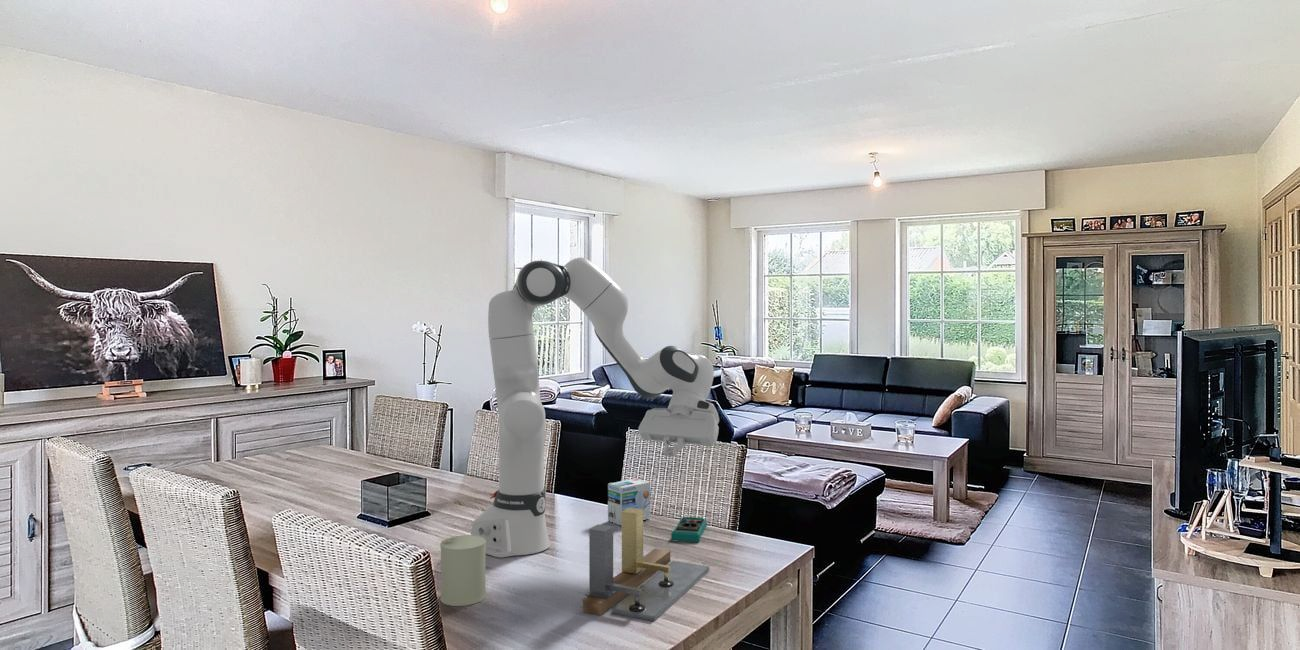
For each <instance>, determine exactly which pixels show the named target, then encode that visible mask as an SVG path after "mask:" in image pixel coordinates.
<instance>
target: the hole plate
mask: <svg viewBox="0 0 1300 650" xmlns="http://www.w3.org/2000/svg"><path fill="white" fill-rule="evenodd" d="M667 565H668V566H671V571H670V572H669V582H664V572H663V571H657V572H656V573H655V574H654V575H652V576H651V577H650V578H648V579H647V580H646V581H644V582H643V583H642V584H641V585H639V586H638V588H642V594H641V595H640V606H635V595H632V594H628V595H626V596H625V597H624V598H623V599H621V600H620V601H619V602H617V603H616V604H615V605H614V606H612V607H611V608H612V609H611V612H612V614H615V615H620V616H625V617H631V618H634V619H635V618H636V619H640V620H645V621H650V622H655V621H656V620H657V619H659V617H660V616H662V615H663V614H664V613H665V612H666V611H667V610H668V609H670V607H672V606H673V605H674V604H675V602H677V601H678V600H679V599H680V598H681V597H682V596H684V595H685V594H686V593H687V592H688V591H689V590H690V589H691V588H692V587H693V586H694V585H696V584H697V583H698V582H699V581H701V580H702V578H703V577H705V576H706V574H707V573H709V572H710V566H709V565H702V564H696V563H690V562H684V561H678V560H672V561H670V562H669V563H668V564H667Z"/></svg>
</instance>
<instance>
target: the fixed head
mask: <svg viewBox="0 0 1300 650" xmlns="http://www.w3.org/2000/svg"><path fill="white" fill-rule="evenodd" d="M588 532H589V536H588V537H589V538H588V540H589V542H588V543H589V545H588V546H589V550H588V551H589V552H588V553H589V560H588V561H589V562H588V563H589V564H588V565H589V567H588V571H589V575H588V576H589V587H588V588H589V589H588V590H589V591H588V592H587V593H585V597H587V596H589V597H594V598H599V599H605V600H607V599H609V598H610V597H611V596H613V595H614V594H615V593H617V592H622V593H627V594H628V595H630V594H632V595H635V606H640V595H641V594H642V588H639V587H637V588H636V587H631V586H625V585H620V584H614V583H613V578H614V526H612V525H606V524H605V525H604V524H599V523H598V524H596V525H593V526H592V527H591V528H589V531H588Z"/></svg>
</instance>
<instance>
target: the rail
mask: <svg viewBox="0 0 1300 650" xmlns="http://www.w3.org/2000/svg"><path fill="white" fill-rule="evenodd" d="M643 562H650V563H656V564H662V565H668V564H669V563H671V550H667V549H661V548H654V549H652V550H651V551H649V552H648V553H646V554H645V555H643ZM657 573H658V571H657V570H651V569H645V568H643V569H642V570H641V571H640V572H638V573H637V574H634V573H629V572H623V571H622V570H621V572H619V573H618V574H617V575H615V576H613V583H614V584H620V585H625V586H631V587H636V588H639V587H640V586H641V585H642V584H644V583H645V582H646V581H648V580H649V579H650V578H651V577H653V576H654V575H655V574H657ZM628 595H629V594H627V593H622V592H617V593H615V594H614V595H613V596H611V597H610V598H609V599H607V600H605V599H599V598H594V597H589V596H585V597H584V598H583V599H582V613H586V614H591V615H596V616H602V615H603V614H604V613H606V612H607V611H609V610H610V609H611V608H613V607H614V606H616V605H617V604H618V603H619V602H621V601H622V600H623V599H624V598H626V597H627V596H628Z"/></svg>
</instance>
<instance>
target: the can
mask: <svg viewBox="0 0 1300 650" xmlns="http://www.w3.org/2000/svg"><path fill="white" fill-rule="evenodd" d="M485 550H486V540H485V539H484V538H483V537H480V536H473V535H471V534H468V535H466V534H465V535H456V536H452V537H448V538H446V539H444V540H442V541H441V542H440V597H439V599H440V602H441V603H443V604H444V605H446V606H449V607H450V606H451V607H466V606H472V605H475V604H478V603H480V602H482V601H484V600H485V598H486V597H487V589H486V587H487V586H486V554H485Z"/></svg>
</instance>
